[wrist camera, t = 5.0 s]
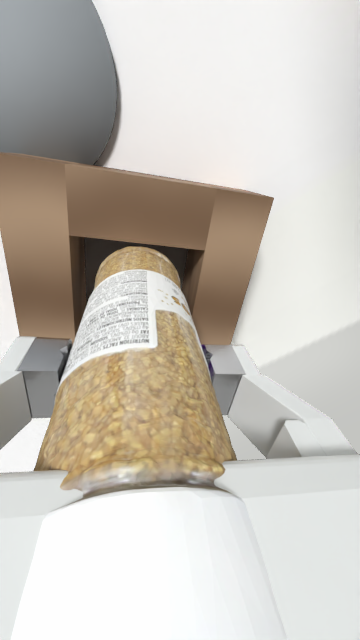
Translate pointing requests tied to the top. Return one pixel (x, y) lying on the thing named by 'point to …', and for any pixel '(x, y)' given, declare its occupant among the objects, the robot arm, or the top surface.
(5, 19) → the coaster
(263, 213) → the holder block
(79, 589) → the sprinkles bottle
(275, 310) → the top surface
